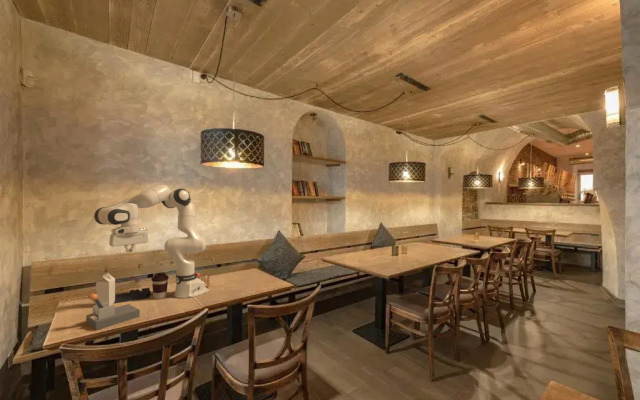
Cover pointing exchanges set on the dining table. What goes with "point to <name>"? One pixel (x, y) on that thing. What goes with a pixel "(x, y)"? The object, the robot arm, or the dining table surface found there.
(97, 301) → the toggle lever
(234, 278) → the dining table surface
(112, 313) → the switch box
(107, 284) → the milk carton
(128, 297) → the dark slate chunk
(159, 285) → the coffee cup
